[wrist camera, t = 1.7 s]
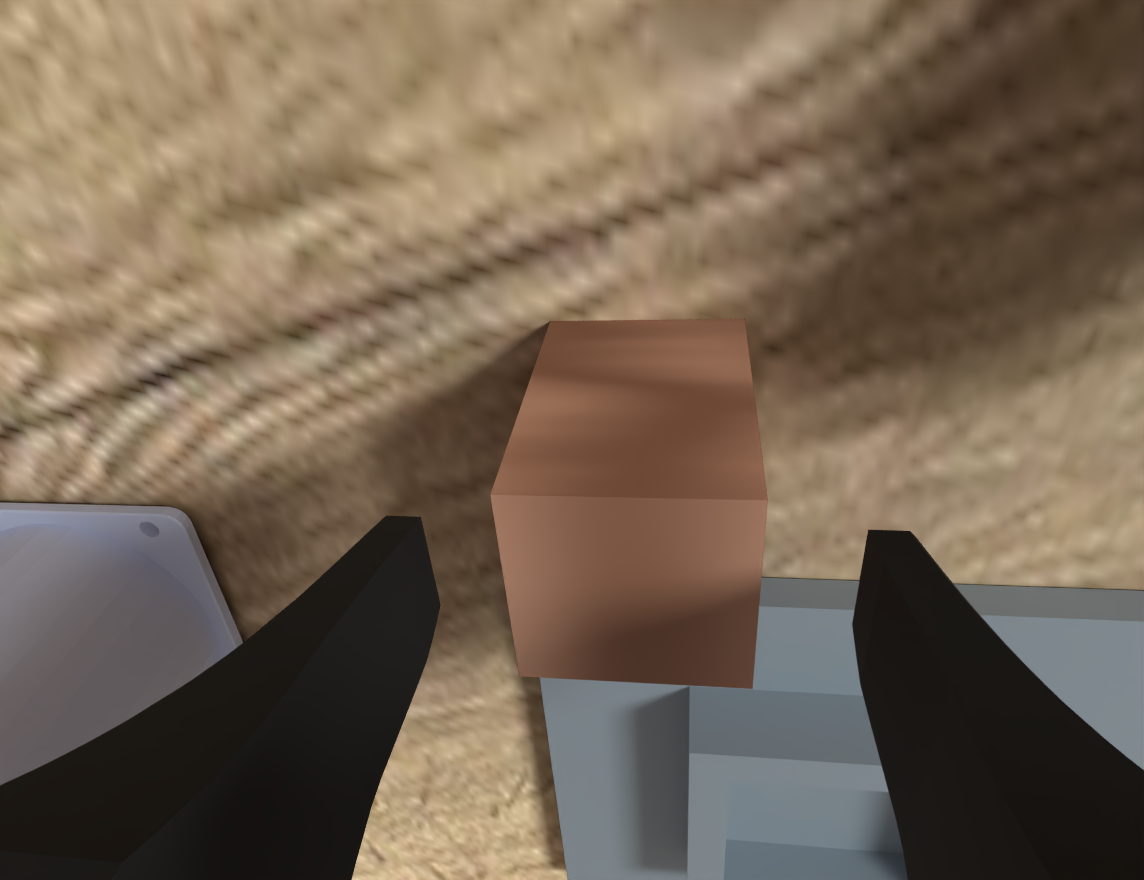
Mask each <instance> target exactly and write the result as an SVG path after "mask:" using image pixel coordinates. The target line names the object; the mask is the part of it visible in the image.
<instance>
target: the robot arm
mask: <svg viewBox="0 0 1144 880" xmlns="http://www.w3.org/2000/svg"><path fill="white" fill-rule="evenodd" d="M153 524H154V525H153ZM439 609H440V601H439V596H438V592H437V588H436V583H435V579H434V574H433V570H432V565H431V561H430V556H429V552H428V548H427V543H426V539H425V534H424V530H423V525H422V521H421V517H407V516H386V517H384V518H383V519H382V520H381V521H380V522H379V523H378V524H377V525H376V526H374V527H373V528H372V529H371V530H370V531H369V532H368V533H367V534H366V535H365V536H364V537H363V538H362V539H361V540H360V541H359V542H358V543H356V544H355V545H354V546H353V547H352V548H351V549H350V550H349V551H348V552H347V553H346V554H345V555H344V556H343V557H342V558H341V559H340V560H338V561H337V562H336V563H335V564H334V565H333V566H332V567H331V568H330V569H329V570H328V571H327V572H326V573H324V574H323V575H322V576H321V577H320V578H319V579H318V580H317V581H316V582H315V583H313V584H312V585H311V586H310V587H309V588H308V589H307V590H306V591H305V592H304V593H303V594H301V595H300V596H299V597H298V598H297V599H296V600H294V601H293V602H292V603H291V604H290V605H288V606H287V607H286V608H285V609H284V610H282V611H281V612H280V613H279V614H278V615H276V616H275V617H274V618H273V619H272V620H270V621H269V622H268V623H267V624H266V625H264V626H263V627H262V628H261V629H260V630H259V631H257V632H256V633H255V634H254V635H253V636H251V637H250V638H249V639H247V640H246V641H245V642H244V643H243V641H242V639H241V636H240V634H239V632H238V629H237V627H236V625H235V622H234V620H233V618H232V615H231V613H230V611H229V608H228V606H227V604H226V601H225V599H224V597H223V594H222V592H221V590H220V587H219V585H218V583H217V580H216V578H215V576H214V573H213V571H212V568H211V566H210V564H209V561H208V559H207V557H206V554H205V552H204V550H203V547H202V545H201V543H200V540H199V538H198V536H197V533H196V531H195V529H194V526H193V524H192V522H191V520H190V519H189V517H188V516H187V515H186V514H185V513H184V512H183V511H181V510H179V509H177V508H172V507H162V506H121V505H81V504H40V503H0V880H351V879H352V875H353V871H354V868H355V864H356V860H357V857H358V853H359V849H360V846H361V842H362V839H363V835H364V831H365V828H366V824H367V821H368V817H369V814H370V810H371V807H372V803H373V801H374V798H375V795H376V792H377V789H378V786H379V783H380V780H381V778H382V775H383V772H384V770H385V767H386V765H387V762H388V760H389V757H390V755H391V752H392V749H393V747H394V744H395V742H396V739H397V737H398V734H399V732H400V729H401V726H402V724H403V721H404V719H405V716H406V714H407V711H408V709H409V706H410V704H411V701H412V698H413V696H414V693H415V691H416V688H417V685H418V683H419V680H420V677H421V675H422V672H423V669H424V667H425V664H426V661H427V658H428V654H429V651H430V647H431V643H432V639H433V635H434V631H435V626H436V622H437V618H438V613H439ZM852 627H853V635H854V643H855V651H856V659H857V665H858V672H859V679H860V685H861V689H862V693H863V697H864V701H865V705H866V709H867V713H868V716H869V720H870V724H871V728H872V732H873V735H874V739H875V743H876V747H877V750H878V754H879V758H880V762H881V765H882V769H883V773H884V777H885V780H886V784H887V788H888V792H889V795H890V799H891V803H892V806H893V810H894V814H895V818H896V822H897V826H898V831H899V835H900V840H901V844H902V849H903V854H904V860H905V866H906V872H907V878H908V880H1144V770H1143V769H1142V768H1140V767H1139V766H1138V765H1137V764H1135V763H1134V762H1133V761H1131V760H1130V759H1129V758H1128V757H1127V756H1125V755H1124V754H1123V753H1122V752H1120V751H1119V750H1118V749H1117V748H1116V747H1114V746H1113V745H1112V744H1111V743H1109V742H1108V741H1107V740H1106V739H1105V738H1104V737H1103V736H1101V735H1100V734H1099V733H1098V732H1097V731H1096V730H1095V729H1093V728H1092V727H1091V726H1090V725H1089V724H1088V723H1087V722H1085V721H1084V720H1083V719H1082V718H1081V717H1080V716H1079V715H1077V714H1076V713H1075V712H1074V711H1073V710H1072V709H1071V708H1069V707H1068V706H1067V705H1066V704H1065V703H1064V702H1063V701H1062V700H1061V699H1060V698H1059V697H1058V696H1057V695H1056V694H1055V693H1054V692H1053V691H1051V690H1050V689H1049V688H1048V687H1047V686H1046V685H1045V684H1044V683H1043V682H1042V681H1041V680H1040V679H1039V678H1038V677H1037V676H1036V675H1035V674H1034V673H1033V672H1032V671H1031V670H1030V669H1029V668H1028V667H1027V666H1026V665H1025V664H1024V663H1023V662H1022V661H1021V659H1020V658H1019V657H1018V656H1017V655H1016V654H1015V653H1014V652H1013V651H1012V650H1011V649H1010V648H1009V647H1008V646H1007V645H1006V644H1005V643H1004V641H1003V640H1002V639H1001V638H1000V637H999V636H998V635H997V634H996V633H995V631H994V630H993V629H992V628H991V627H990V626H989V625H988V624H987V622H986V621H985V620H984V619H983V618H982V617H981V616H980V615H979V614H978V612H977V611H976V610H975V609H974V608H973V607H972V605H971V604H970V603H969V602H968V601H967V600H966V598H965V597H964V596H963V595H962V594H961V592H960V591H959V590H958V589H957V588H956V586H955V585H954V584H953V583H952V582H951V580H950V579H949V578H948V577H947V576H946V574H945V573H944V572H943V571H942V569H941V568H940V567H939V566H938V564H937V563H936V562H935V561H934V559H933V558H932V557H931V556H930V554H929V553H928V552H927V550H926V549H925V548H924V547H923V545H922V544H921V543H920V542H919V540H918V539H917V538H916V537H915V536H914V535H913V534H912V533H911V532H910V531H892V530H868V535H867V541H866V546H865V552H864V558H863V564H862V570H861V575H860V581H859V587H858V593H857V598H856V604H855V610H854V616H853V621H852Z"/></svg>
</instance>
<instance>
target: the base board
mask: <svg viewBox="0 0 1144 880" xmlns="http://www.w3.org/2000/svg"><path fill="white" fill-rule="evenodd" d="M954 585H955V586H956V588H957V589H958V590H959V591H960V592H961V594H962V595H963V596H964V597H965V598H966V600H967V601H968V602H969V603H970V604H971V605H972V607H973V608H974V609H975V610H976V611H977V612H978V614H979V615H980V616H981V617H982V618H983V619H984V620H985V621H986V622H987V624H988V625H989V626H990V627H991V628H992V629H993V630H994V631H995V633H996V634H997V635H998V636H999V637H1000V638H1001V639H1002V640H1003V641H1004V643H1005V644H1006V645H1007V646H1008V647H1009V648H1010V649H1011V650H1012V651H1013V652H1014V653H1015V654H1016V655H1017V656H1018V657H1019V658H1020V659H1021V661H1022V662H1023V663H1024V664H1025V665H1026V666H1027V667H1028V668H1029V669H1030V670H1031V671H1032V672H1033V673H1034V674H1035V675H1036V676H1037V677H1038V678H1039V679H1040V680H1041V681H1042V682H1043V683H1044V684H1045V685H1046V686H1047V687H1048V688H1049V689H1050V690H1051V691H1053V692H1054V693H1055V694H1056V695H1057V696H1058V697H1059V698H1060V699H1061V700H1062V701H1063V702H1064V703H1065V704H1066V705H1067V706H1068V707H1069V708H1071V709H1072V710H1073V711H1074V712H1075V713H1076V714H1077V715H1079V716H1080V717H1081V718H1082V719H1083V720H1084V721H1085V722H1087V723H1088V724H1089V725H1090V726H1091V727H1092V728H1093V729H1095V730H1096V731H1097V732H1098V733H1099V734H1100V735H1101V736H1103V737H1104V738H1105V739H1106V740H1107V741H1108V742H1109V743H1111V744H1112V745H1113V746H1114V747H1116V748H1117V749H1118V750H1119V751H1120V752H1122V753H1123V754H1124V755H1125V756H1127V757H1128V758H1129V759H1130V760H1131V761H1133V762H1134V763H1135V764H1137V765H1138V766H1139V767H1140V768H1142V769H1143V770H1144V591H1137V590H1108V589H1079V588H1050V587H1021V586H992V585H963V584H954ZM858 587H859V581H848V580H819V579H790V578H761V591H760V603H759V615H758V628H757V640H756V653H755V665H754V678H753V689H745V688H726V687H707V686H689V685H670V684H651V683H633V682H614V681H595V680H577V679H558V678H540V684H541V691H542V698H543V706H544V713H545V720H546V727H547V734H548V742H549V749H550V756H551V763H552V770H553V778H554V785H555V792H556V799H557V807H558V814H559V821H560V828H561V835H562V843H563V850H564V857H565V864H566V872H567V879H568V880H908V878H907V872H906V866H905V860H904V854H903V849H902V844H901V840H900V835H899V831H898V826H897V822H896V818H895V814H894V810H893V806H892V803H891V799H890V795H889V792H888V788H887V784H886V780H885V777H884V773H883V769H882V765H881V762H880V758H879V754H878V750H877V747H876V743H875V739H874V735H873V732H872V728H871V724H870V720H869V716H868V713H867V709H866V705H865V701H864V697H863V693H862V689H861V685H860V679H859V672H858V665H857V659H856V651H855V643H854V635H853V627H852V621H853V616H854V610H855V604H856V598H857V593H858Z"/></svg>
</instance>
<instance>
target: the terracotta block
mask: <svg viewBox="0 0 1144 880" xmlns="http://www.w3.org/2000/svg"><path fill="white" fill-rule="evenodd" d="M490 497H491V503H492V509H493V515H494V521H495V528H496V534H497V540H498V546H499V553H500V559H501V565H502V571H503V577H504V584H505V590H506V596H507V602H508V609H509V615H510V621H511V627H512V633H513V640H514V646H515V652H516V658H517V665H518V671H519V676H521V677H539V678H558V679H577V680H595V681H614V682H633V683H651V684H670V685H689V686H707V687H726V688H745V689H753V678H754V665H755V653H756V640H757V628H758V615H759V603H760V591H761V578H762V566H763V553H764V541H765V528H766V516H767V503H768V499H767V491H766V483H765V475H764V467H763V459H762V451H761V444H760V436H759V428H758V420H757V412H756V404H755V397H754V389H753V381H752V373H751V365H750V357H749V349H748V342H747V334H746V326H745V319H696V320H612V321H550V323H549V326H548V329H547V332H546V335H545V338H544V341H543V344H542V346H541V349H540V352H539V355H538V358H537V361H536V364H535V367H534V370H533V372H532V375H531V378H530V381H529V384H528V387H527V390H526V393H525V396H524V399H523V401H522V404H521V407H520V410H519V413H518V416H517V419H516V422H515V425H514V427H513V430H512V433H511V436H510V439H509V442H508V445H507V448H506V451H505V454H504V456H503V459H502V462H501V465H500V468H499V471H498V474H497V477H496V480H495V483H494V485H493V488H492V491H491V494H490Z"/></svg>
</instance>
